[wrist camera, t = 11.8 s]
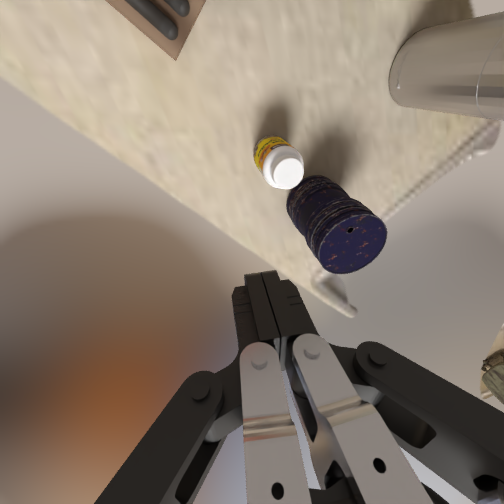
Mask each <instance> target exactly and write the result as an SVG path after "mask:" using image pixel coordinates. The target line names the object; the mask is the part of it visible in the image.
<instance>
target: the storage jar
mask: <svg viewBox="0 0 504 504" xmlns="http://www.w3.org/2000/svg"><path fill="white" fill-rule="evenodd" d="M286 207H287V212H288V215H289V216H290V218H291V220H292V222H293V224H294V225H295V227H296V228H297V229H298V230H299V232H300V233H301V234H302V235H303V236H304V237H305V239H306V242H307V245H308V247H309V248H310V250H311V251H312V253H313V254H314V256H315V257H316V258H317V259H318V261H319V262H320V264H321V265H322V267H323V268H324V269H325V270H327V271H328V272H331V273H334V274H348V273H352V272H355V271H357V270H359V269H362V268H363V267H365V266H367V265H368V264H369V263H371V262H372V261H373V260H374V259H375V258H376V257H377V256H378V255H379V254H380V252H381V251H382V249H383V247H384V245H385V242H386V239H387V228H386V225H385V224H384V222H383V221H382V220H381V219H380V218H378V217H377V216H376V215H374V214H373V213H372V211H371V210H369V209H368V208H367V207H366V206H364V205H363V204H362V203H361V202H359V201H357V200H355V199H352V198H350V197H349V196H348V194H347V193H346V192H345V191H344V190H343V189H342V188H341V187H340V186H339V185H337V184H336V183H334V182H332V181H331V180H330V179H328V178H326V177H324V176H310V177H307V178H305V179H303V180H301V181H300V183H299V184H298V185H297V186H295V187H293V189H292V190H291V192H290V193H289V196H288V199H287V204H286Z"/></svg>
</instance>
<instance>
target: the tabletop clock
mask: <svg viewBox="0 0 504 504" xmlns="http://www.w3.org/2000/svg"><path fill="white" fill-rule="evenodd" d="M501 356H503V359H504V353H501ZM483 363H484V364H488V365H489V366H490V367H491V368H490V369H489V370H488V371H487V369H486V368H485V367H482V368H481V369H482V370H483V371H486V373H484V375H483V377H482V381H483V382H484V384H485V385H486V386H487V388H488V389H489V390H490V391H491V392H492V393H493V395H494V396H495V397H497V399H498V400H499V401H500V402H501V403H503V404H504V362H501V363H498V364H496V365H495V366H491V365H490V364H489V363H488V361H487V360H483Z"/></svg>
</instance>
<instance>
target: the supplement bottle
mask: <svg viewBox="0 0 504 504" xmlns="http://www.w3.org/2000/svg"><path fill="white" fill-rule="evenodd" d="M254 161H255V164H256V166H257V167H258V169H259V170H260V172H261V174H262V175H263V177H264V178H265V180H266V181H267V183H268V184H269V185H271V186H273V187H275V188H279V189H291V188H293V187H295V186H297V185H298V184H299V183H300V181H301V180H302V178H303V174H304V168H303V167H304V163H303V158H302V156H301V154H300V153H299V152H298V151H297V150H296V149H295V148H294V147H292V146H291V145H290V144H288V143H287V142H286V141H285V140H283V139H282V138H280V137H278V136H274V135H271V136H267V137H264V138H263V139H261V140H260V141H259V142H258V144H257V145H256V147H255V150H254Z"/></svg>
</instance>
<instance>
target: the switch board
mask: <svg viewBox="0 0 504 504" xmlns="http://www.w3.org/2000/svg"><path fill="white" fill-rule="evenodd" d="M106 1H107V2H108V3H109V4H110V5H111V6H113V7H114V8H115V9H116V10H117V11H118V12H120V13H121V14H122V15H123V16H124V17H125V18H127V19H128V20H129V21H130V22H131V23H132V24H133V25H135V26H136V27H137V28H138V29H139V30H140V31H142V32H143V33H144V34H145V35H146V36H147V37H149V38H150V39H151V40H152V41H153V42H154V43H156V44H157V45H158V46H159V47H160V48H161V49H162V50H164V51H165V52H166V53H167V54H168V55H169V56H171V57H172V58H173V59H174V60H175V61H176V59H177V57H178V55H179V53H180V51H181V49H182V47H183V45H184V43H185V41H186V39H187V37H188V35H189V33H190V31H191V29H192V27H193V25H194V23H195V21H196V19H197V17H198V15H199V13H200V11H201V9H202V7H203V5H204V3H205V1H206V0H106Z"/></svg>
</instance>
